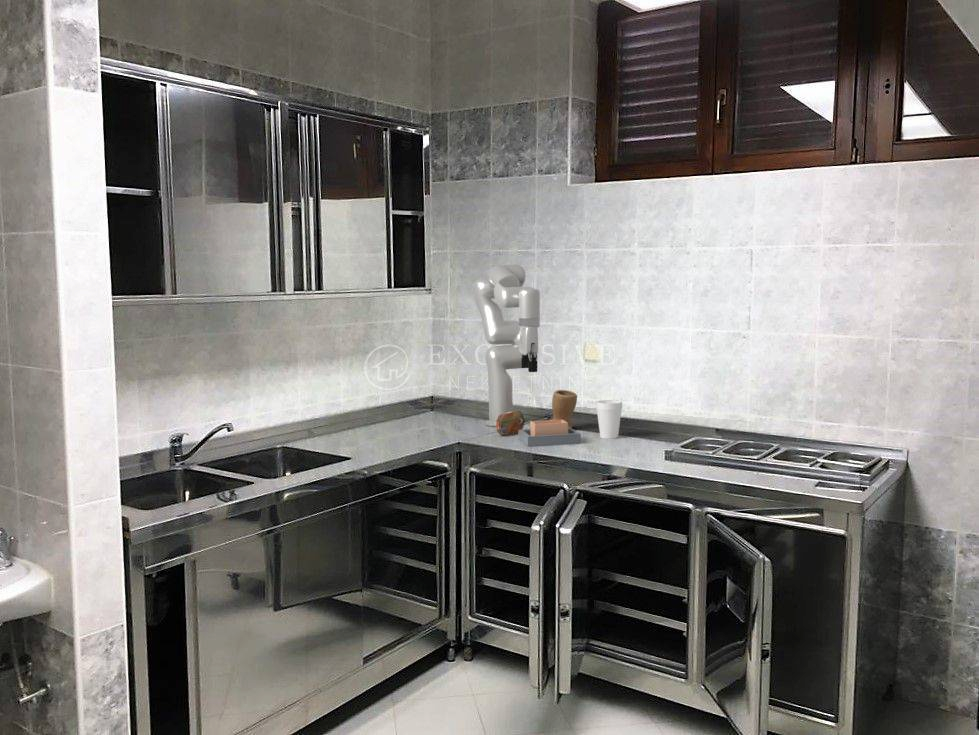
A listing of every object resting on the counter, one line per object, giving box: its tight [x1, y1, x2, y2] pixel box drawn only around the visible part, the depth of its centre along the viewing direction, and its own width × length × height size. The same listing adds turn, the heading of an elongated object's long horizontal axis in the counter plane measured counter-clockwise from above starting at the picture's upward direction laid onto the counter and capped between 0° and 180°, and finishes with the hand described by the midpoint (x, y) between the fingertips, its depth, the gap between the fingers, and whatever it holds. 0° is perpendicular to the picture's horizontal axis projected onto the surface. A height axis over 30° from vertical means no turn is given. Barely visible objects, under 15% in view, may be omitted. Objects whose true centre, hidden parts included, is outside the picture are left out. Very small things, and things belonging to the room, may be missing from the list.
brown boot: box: [550, 389, 578, 428], centre depth 335 cm, size 15×12×15 cm
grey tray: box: [517, 427, 582, 448], centre depth 310 cm, size 14×19×4 cm
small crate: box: [529, 419, 568, 436], centre depth 310 cm, size 6×12×6 cm, turn 102°
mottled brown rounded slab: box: [495, 410, 525, 437], centre depth 327 cm, size 15×3×8 cm, turn 143°
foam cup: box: [595, 399, 623, 440], centre depth 315 cm, size 10×9×13 cm
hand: (529, 369), depth 314 cm, fingers open, 9 cm apart
